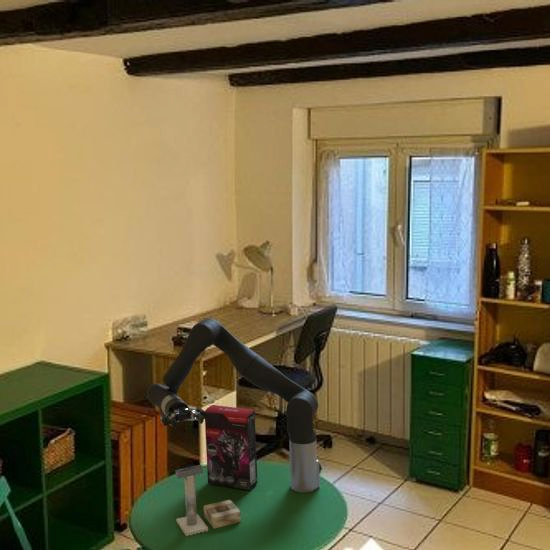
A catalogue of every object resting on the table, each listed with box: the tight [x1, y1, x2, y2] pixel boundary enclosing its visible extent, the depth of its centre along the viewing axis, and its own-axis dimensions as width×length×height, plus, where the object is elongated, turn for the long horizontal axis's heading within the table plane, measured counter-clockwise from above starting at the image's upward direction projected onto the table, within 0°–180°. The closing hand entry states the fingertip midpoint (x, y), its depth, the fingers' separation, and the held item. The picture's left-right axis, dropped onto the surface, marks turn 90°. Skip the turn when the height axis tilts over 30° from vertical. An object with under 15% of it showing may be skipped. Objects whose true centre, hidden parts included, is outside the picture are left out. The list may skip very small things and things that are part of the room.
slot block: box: [203, 499, 242, 529], centre depth 226 cm, size 9×9×4 cm
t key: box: [175, 464, 204, 526], centre depth 221 cm, size 8×3×18 cm, turn 115°
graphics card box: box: [204, 404, 258, 491], centre depth 249 cm, size 17×7×27 cm, turn 68°
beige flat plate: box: [175, 513, 209, 537], centre depth 222 cm, size 7×10×1 cm
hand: (189, 423), depth 233 cm, fingers open, 8 cm apart
